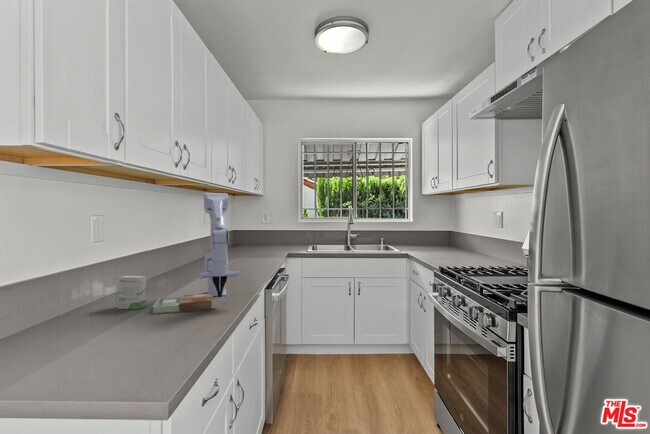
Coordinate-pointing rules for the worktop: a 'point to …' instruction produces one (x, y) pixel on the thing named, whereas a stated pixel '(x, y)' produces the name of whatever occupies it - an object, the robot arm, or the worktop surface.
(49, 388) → the worktop surface
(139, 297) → the ink box
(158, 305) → the tray
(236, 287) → the worktop surface
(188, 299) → the walnut board
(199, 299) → the terracotta tile
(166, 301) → the cream tile
